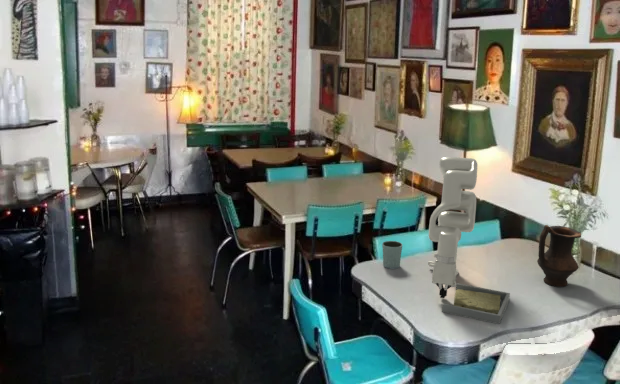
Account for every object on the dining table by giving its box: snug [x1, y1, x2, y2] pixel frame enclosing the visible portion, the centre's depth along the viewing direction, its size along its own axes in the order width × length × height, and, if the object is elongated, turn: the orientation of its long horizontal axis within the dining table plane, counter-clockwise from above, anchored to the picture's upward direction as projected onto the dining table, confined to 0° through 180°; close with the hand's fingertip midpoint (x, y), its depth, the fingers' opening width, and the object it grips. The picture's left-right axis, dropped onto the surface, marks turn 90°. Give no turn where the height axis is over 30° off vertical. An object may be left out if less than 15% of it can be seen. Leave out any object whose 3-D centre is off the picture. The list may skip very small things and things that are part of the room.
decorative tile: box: [453, 289, 501, 314], centre depth 272 cm, size 19×20×4 cm
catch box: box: [441, 282, 511, 325], centre depth 271 cm, size 24×27×4 cm
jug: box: [536, 224, 582, 288], centre depth 296 cm, size 21×18×30 cm
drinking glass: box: [382, 240, 403, 270], centre depth 316 cm, size 10×10×12 cm
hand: (442, 297), depth 277 cm, fingers closed
